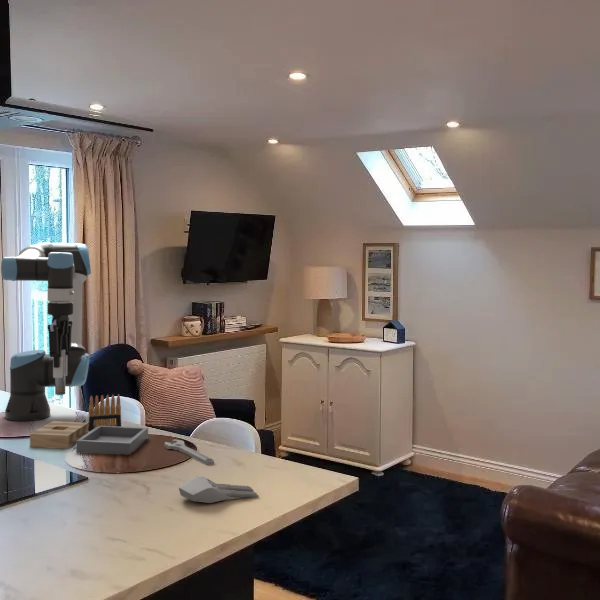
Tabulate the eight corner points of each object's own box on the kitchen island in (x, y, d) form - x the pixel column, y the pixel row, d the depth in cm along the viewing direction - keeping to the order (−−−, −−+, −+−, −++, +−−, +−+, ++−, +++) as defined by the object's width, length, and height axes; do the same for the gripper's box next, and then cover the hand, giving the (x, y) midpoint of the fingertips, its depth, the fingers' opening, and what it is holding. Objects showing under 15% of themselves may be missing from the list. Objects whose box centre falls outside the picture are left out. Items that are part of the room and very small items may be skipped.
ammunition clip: (88, 431, 235) (88, 396, 234) (87, 430, 236) (88, 395, 235) (121, 429, 239) (121, 394, 238) (120, 428, 241) (120, 393, 240)
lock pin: (57, 392, 224) (57, 348, 223) (66, 393, 224) (66, 349, 223) (53, 394, 221) (53, 350, 220) (62, 395, 221) (63, 350, 220)
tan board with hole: (52, 433, 232) (52, 421, 232) (88, 434, 231) (88, 422, 231) (30, 446, 216) (30, 433, 216) (68, 448, 215) (68, 435, 215)
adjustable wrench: (215, 465, 204) (216, 459, 204) (195, 469, 201) (195, 462, 200) (179, 443, 225) (179, 438, 225) (160, 446, 221) (160, 440, 221)
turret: (259, 509, 176) (262, 490, 176) (181, 506, 169) (184, 486, 168) (247, 496, 185) (250, 478, 185) (173, 492, 178) (176, 473, 178)
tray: (98, 436, 230) (98, 425, 230) (148, 438, 228) (148, 427, 228) (76, 452, 211) (76, 440, 211) (129, 455, 210) (129, 443, 210)
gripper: (61, 304, 212) (61, 381, 214) (82, 300, 228) (81, 372, 230) (37, 303, 213) (37, 380, 214) (59, 299, 228) (59, 371, 230)
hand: (60, 376), depth 222 cm, fingers closed on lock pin, 3 cm apart
